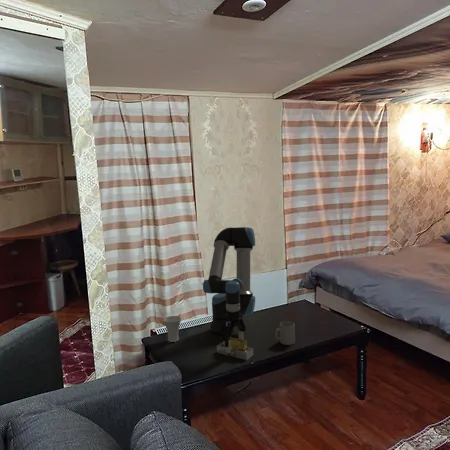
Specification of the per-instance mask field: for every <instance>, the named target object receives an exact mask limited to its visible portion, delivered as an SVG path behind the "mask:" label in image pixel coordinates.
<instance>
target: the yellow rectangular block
mask: <svg viewBox="0 0 450 450" xmlns="http://www.w3.org/2000/svg"><path fill="white" fill-rule="evenodd" d="M229 341H230V347H232V352H235V350H236V349H240V350H241V351H246V350H247V347H248V340H245V339H244V340H242V339H239V337H238V338H237V337H232V336H230V339H229ZM222 342H223V345H224V346H225V341H222Z"/></svg>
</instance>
